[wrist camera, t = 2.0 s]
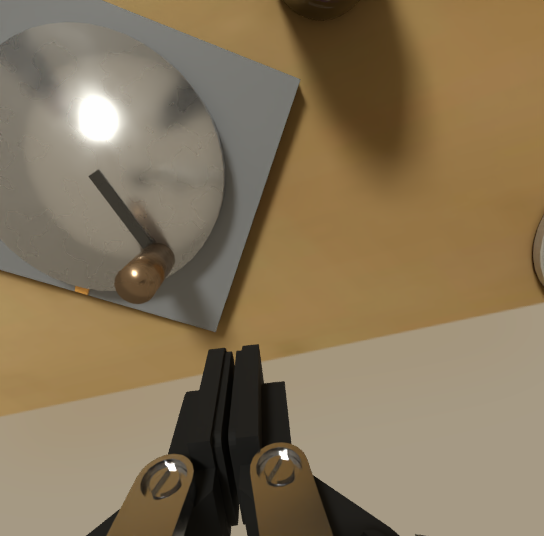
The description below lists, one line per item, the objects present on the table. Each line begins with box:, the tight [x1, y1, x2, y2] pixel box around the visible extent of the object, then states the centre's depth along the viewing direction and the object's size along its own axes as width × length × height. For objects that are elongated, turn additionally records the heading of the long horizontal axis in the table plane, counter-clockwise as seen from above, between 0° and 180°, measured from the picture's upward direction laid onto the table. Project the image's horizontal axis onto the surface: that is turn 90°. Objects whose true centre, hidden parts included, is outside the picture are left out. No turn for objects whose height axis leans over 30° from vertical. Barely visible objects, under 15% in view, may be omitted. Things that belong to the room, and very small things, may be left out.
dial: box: [0, 22, 225, 304], centre depth 22 cm, size 17×17×6 cm
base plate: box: [0, 0, 300, 332], centre depth 26 cm, size 22×20×2 cm
